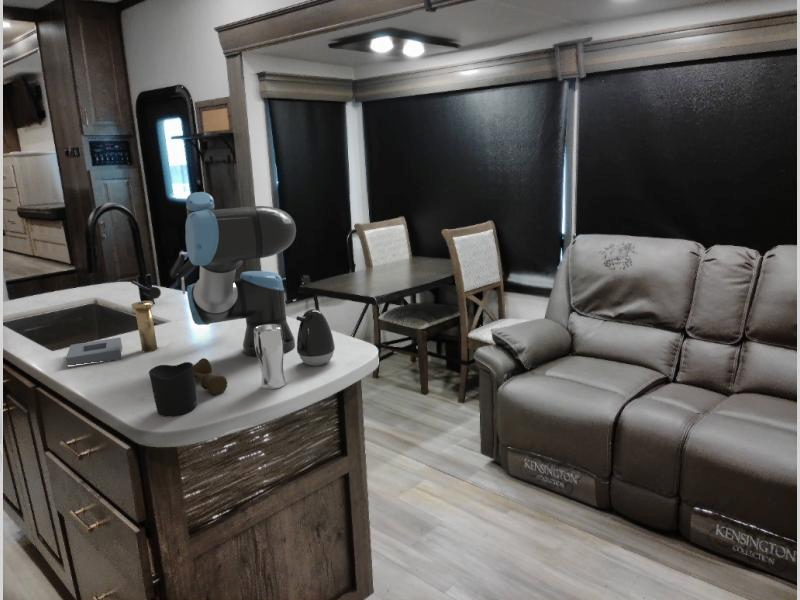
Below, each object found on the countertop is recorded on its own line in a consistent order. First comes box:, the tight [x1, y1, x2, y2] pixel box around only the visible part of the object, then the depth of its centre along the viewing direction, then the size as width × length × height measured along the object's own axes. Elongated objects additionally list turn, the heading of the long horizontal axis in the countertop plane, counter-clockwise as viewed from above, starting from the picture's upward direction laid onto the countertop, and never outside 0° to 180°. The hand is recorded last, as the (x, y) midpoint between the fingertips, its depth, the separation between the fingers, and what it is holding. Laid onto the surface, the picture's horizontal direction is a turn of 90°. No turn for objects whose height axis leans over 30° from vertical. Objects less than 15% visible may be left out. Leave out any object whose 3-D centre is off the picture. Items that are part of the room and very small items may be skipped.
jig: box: [65, 336, 123, 366], centre depth 177 cm, size 14×14×3 cm
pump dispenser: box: [296, 308, 336, 367], centre depth 160 cm, size 10×10×15 cm
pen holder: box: [148, 361, 198, 417], centre depth 135 cm, size 9×9×10 cm
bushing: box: [131, 300, 158, 353], centre depth 180 cm, size 6×6×15 cm
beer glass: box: [254, 324, 287, 390], centre depth 146 cm, size 7×7×15 cm
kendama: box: [193, 357, 228, 396], centre depth 149 cm, size 6×10×20 cm
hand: (205, 288), depth 193 cm, fingers open, 13 cm apart
